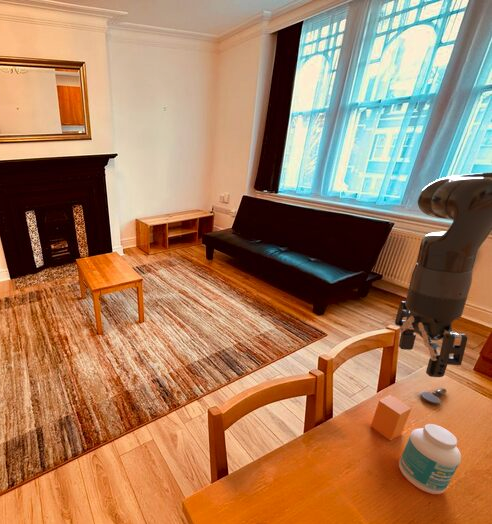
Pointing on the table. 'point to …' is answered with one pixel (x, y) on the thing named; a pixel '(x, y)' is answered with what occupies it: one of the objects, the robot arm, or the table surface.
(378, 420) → the orange rectangular block
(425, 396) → the grey oval keychain
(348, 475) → the table surface
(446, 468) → the pill bottle
